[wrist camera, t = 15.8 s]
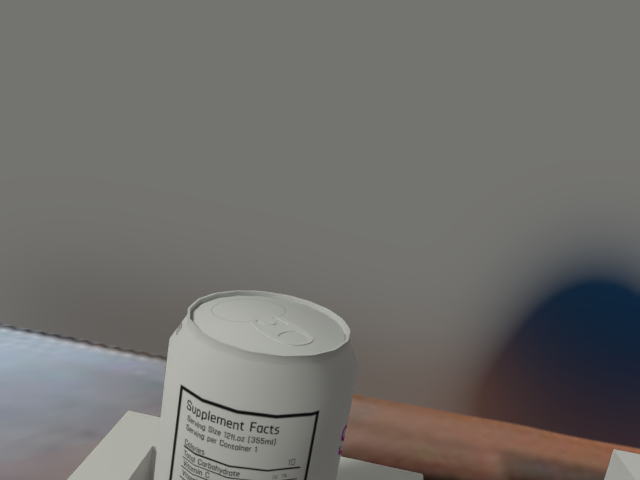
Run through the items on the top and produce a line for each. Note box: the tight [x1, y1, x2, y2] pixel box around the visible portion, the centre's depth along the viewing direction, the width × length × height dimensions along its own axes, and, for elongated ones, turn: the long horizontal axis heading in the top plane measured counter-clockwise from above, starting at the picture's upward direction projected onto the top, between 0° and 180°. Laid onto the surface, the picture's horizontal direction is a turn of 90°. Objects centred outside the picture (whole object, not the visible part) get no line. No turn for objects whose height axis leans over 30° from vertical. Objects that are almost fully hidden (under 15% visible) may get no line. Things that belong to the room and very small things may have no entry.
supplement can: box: [154, 291, 358, 480], centre depth 25 cm, size 8×8×15 cm
